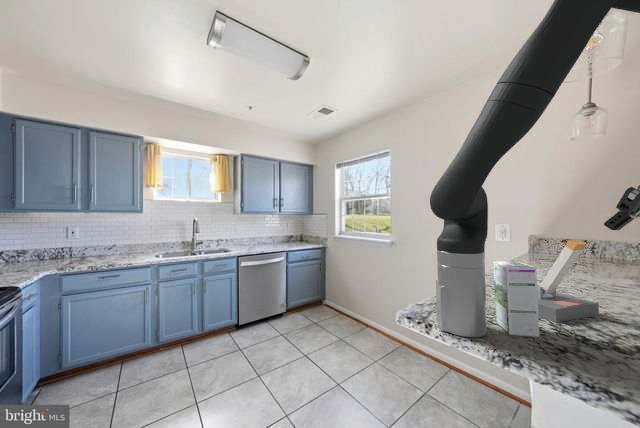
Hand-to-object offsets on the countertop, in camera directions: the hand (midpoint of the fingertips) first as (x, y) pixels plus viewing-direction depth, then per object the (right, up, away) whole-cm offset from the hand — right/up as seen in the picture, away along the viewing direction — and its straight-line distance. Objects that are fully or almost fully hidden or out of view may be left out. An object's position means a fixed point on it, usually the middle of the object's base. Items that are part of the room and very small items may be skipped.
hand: (610, 227), depth 52 cm
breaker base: (-3, -22, +12) cm, 25 cm away
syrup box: (-20, -23, 0) cm, 30 cm away
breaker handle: (-3, -18, +12) cm, 22 cm away
